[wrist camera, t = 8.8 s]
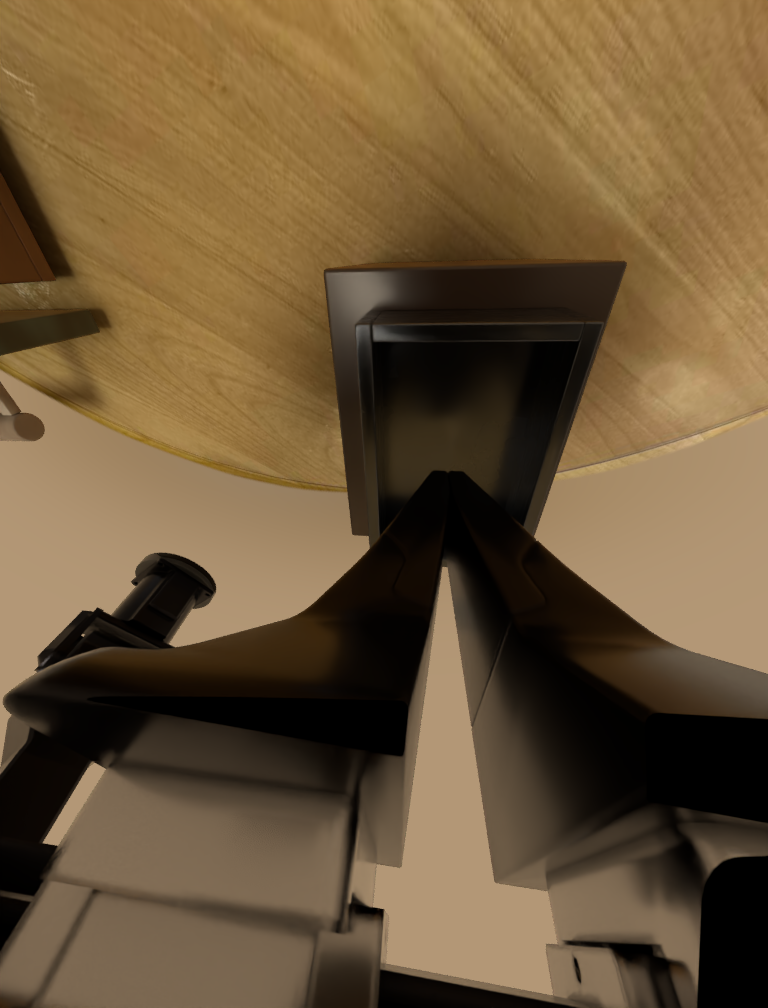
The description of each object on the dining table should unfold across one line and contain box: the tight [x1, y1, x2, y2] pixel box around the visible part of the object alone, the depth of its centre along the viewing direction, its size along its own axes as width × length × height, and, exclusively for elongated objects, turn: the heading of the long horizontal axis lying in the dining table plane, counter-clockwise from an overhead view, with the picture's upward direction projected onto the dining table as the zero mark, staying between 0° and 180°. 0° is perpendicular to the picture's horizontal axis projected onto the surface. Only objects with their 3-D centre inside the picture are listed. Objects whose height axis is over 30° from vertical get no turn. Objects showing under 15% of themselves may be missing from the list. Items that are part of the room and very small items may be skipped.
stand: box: [324, 259, 627, 537], centre depth 16 cm, size 10×8×10 cm
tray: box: [354, 307, 604, 567], centre depth 11 cm, size 8×6×2 cm
